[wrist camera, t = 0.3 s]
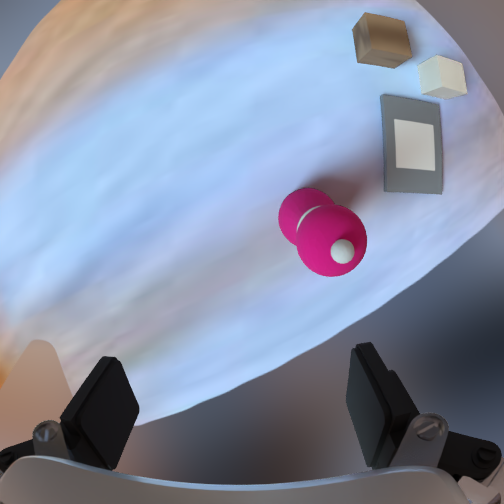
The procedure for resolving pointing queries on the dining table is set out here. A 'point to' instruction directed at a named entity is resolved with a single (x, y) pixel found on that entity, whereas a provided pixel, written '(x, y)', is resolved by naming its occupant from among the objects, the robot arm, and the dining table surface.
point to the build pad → (411, 146)
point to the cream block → (442, 78)
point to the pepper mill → (323, 232)
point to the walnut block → (381, 41)
